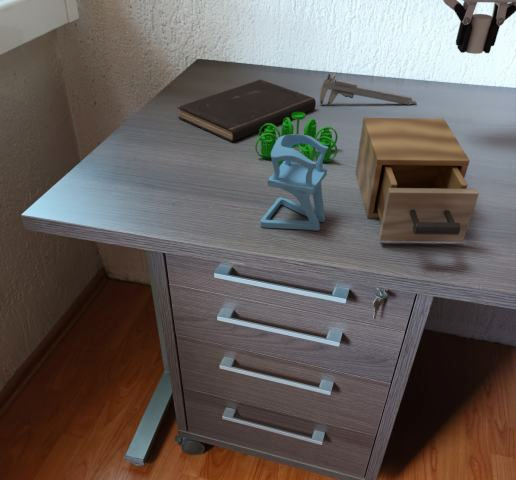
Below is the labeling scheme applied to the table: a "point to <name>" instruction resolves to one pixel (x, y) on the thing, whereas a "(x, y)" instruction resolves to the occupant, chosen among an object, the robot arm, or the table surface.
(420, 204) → the drawer
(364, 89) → the caliper
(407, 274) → the table surface
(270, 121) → the hardcover book
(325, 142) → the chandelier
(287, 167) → the chair
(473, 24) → the white cylinder
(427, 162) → the cabinet
